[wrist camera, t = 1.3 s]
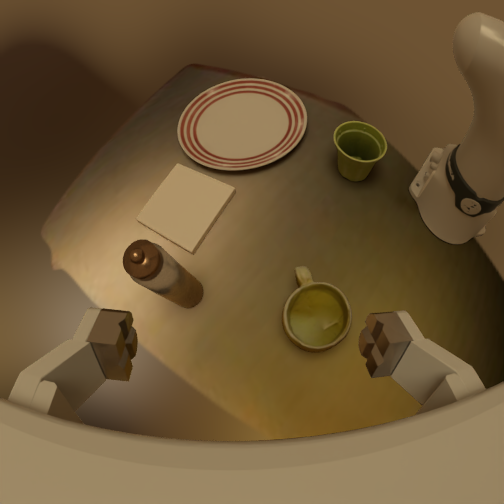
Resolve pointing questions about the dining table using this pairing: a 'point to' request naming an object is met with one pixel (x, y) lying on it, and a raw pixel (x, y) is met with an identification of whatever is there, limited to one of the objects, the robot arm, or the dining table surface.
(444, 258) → the dining table surface
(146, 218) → the serving tile
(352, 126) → the plant pot
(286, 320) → the mug
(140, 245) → the pepper mill
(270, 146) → the dinner plate
